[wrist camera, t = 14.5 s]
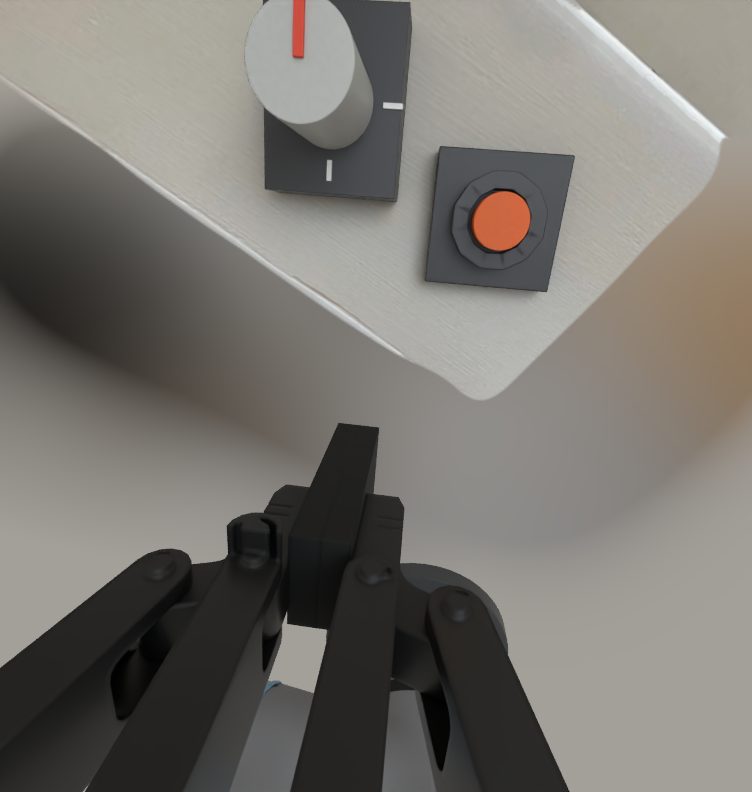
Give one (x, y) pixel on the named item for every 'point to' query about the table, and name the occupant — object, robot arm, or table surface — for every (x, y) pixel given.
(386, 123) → the dial panel
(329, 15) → the timer dial
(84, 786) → the robot arm
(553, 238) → the button base
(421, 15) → the table surface
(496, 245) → the power button
